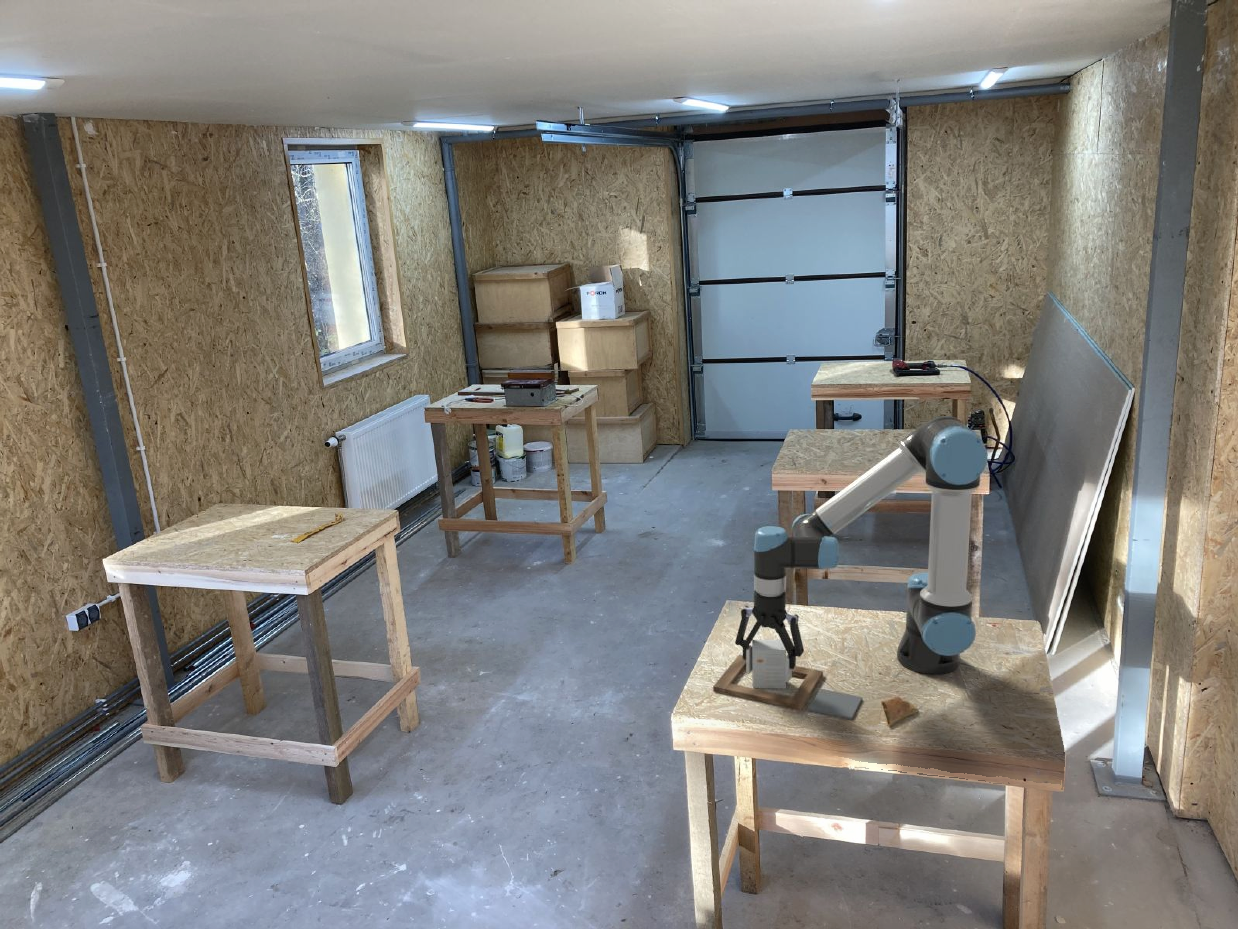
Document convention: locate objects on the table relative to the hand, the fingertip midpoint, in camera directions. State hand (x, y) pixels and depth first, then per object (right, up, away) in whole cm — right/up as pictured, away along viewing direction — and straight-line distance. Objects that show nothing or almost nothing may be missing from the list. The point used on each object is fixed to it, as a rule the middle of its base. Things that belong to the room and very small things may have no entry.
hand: (768, 675), depth 231 cm
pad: (+14, -5, -10) cm, 18 cm away
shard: (+28, -6, -15) cm, 32 cm away
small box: (0, -2, +1) cm, 2 cm away
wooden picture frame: (0, -2, +1) cm, 2 cm away
